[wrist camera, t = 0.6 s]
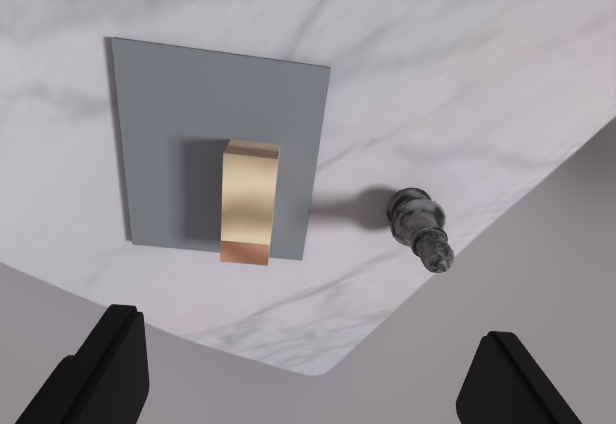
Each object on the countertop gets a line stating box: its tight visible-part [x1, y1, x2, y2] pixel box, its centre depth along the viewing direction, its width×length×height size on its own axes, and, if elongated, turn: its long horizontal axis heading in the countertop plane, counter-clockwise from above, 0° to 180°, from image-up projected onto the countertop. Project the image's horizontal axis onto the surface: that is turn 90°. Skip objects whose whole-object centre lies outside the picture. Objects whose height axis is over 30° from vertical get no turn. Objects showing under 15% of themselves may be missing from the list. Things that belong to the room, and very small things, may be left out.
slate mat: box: [111, 37, 331, 260], centre depth 39 cm, size 22×20×1 cm
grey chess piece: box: [386, 188, 455, 273], centre depth 37 cm, size 6×6×12 cm
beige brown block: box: [220, 139, 280, 266], centre depth 39 cm, size 12×5×5 cm, turn 173°
